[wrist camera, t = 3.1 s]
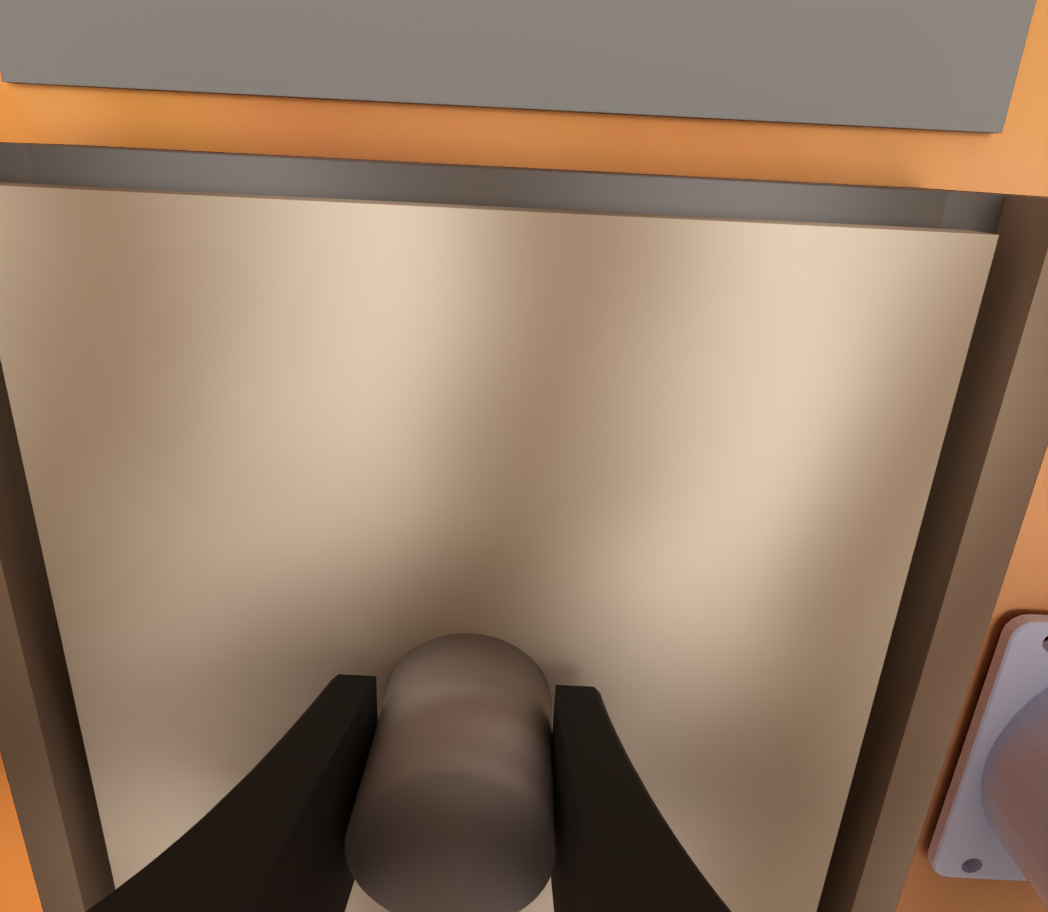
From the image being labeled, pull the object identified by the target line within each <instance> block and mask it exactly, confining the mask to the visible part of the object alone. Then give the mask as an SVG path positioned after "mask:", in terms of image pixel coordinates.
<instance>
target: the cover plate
mask: <svg viewBox="0 0 1048 912" xmlns="http://www.w3.org/2000/svg"><path fill="white" fill-rule="evenodd" d="M998 237H999V235H996V234H990V233H984V232H978V231H971V230H962V229H941V228H921V227H901V226H881V225H861V224H840V223H820V222H800V221H780V220H760V219H739V218H719V217H699V216H679V215H658V214H638V213H618V212H598V211H578V210H557V209H537V208H517V207H497V206H477V205H456V204H436V203H416V202H396V201H375V200H355V199H335V198H315V197H295V196H274V195H254V194H234V193H214V192H194V191H173V190H153V189H133V188H113V187H92V186H72V185H52V184H32V183H12V182H0V359H1V364H2V369H3V373H4V378H5V382H6V387H7V392H8V396H9V401H10V405H11V410H12V415H13V419H14V424H15V428H16V433H17V438H18V442H19V447H20V451H21V456H22V461H23V465H24V470H25V475H26V479H27V484H28V488H29V493H30V498H31V502H32V507H33V511H34V516H35V521H36V525H37V530H38V534H39V539H40V544H41V548H42V553H43V557H44V562H45V567H46V571H47V576H48V580H49V585H50V590H51V594H52V599H53V603H54V608H55V613H56V617H57V622H58V626H59V631H60V636H61V640H62V645H63V650H64V654H65V659H66V663H67V668H68V673H69V677H70V682H71V686H72V691H73V696H74V700H75V705H76V709H77V714H78V719H79V723H80V728H81V732H82V737H83V742H84V746H85V751H86V755H87V760H88V765H89V769H90V774H91V778H92V783H93V788H94V792H95V797H96V801H97V806H98V811H99V815H100V820H101V824H102V829H103V834H104V838H105V843H106V848H107V852H108V857H109V861H110V866H111V871H112V875H113V880H114V884H115V889H117V888H118V887H119V886H121V885H122V884H123V883H125V882H126V881H127V880H129V879H130V878H131V877H132V876H134V875H135V874H136V873H138V872H139V871H140V870H142V869H143V868H144V867H145V866H147V865H148V864H149V863H150V862H152V861H153V860H154V859H155V858H156V857H158V856H159V855H160V854H161V853H162V852H164V851H165V850H166V849H167V848H168V847H170V846H171V845H172V844H173V843H174V842H175V841H177V840H178V839H179V838H180V837H181V836H182V835H184V834H185V833H186V832H187V831H188V830H189V829H190V828H191V827H193V826H194V825H195V824H196V823H197V822H198V821H199V820H200V819H201V818H203V817H204V816H205V815H206V814H207V813H208V812H209V811H210V810H211V809H212V808H213V807H214V806H215V805H216V804H217V803H218V802H219V801H220V800H221V799H222V798H224V797H225V796H226V795H227V794H228V793H229V792H230V791H231V790H232V789H233V788H234V787H235V786H236V785H237V784H238V783H239V782H240V781H241V780H242V779H243V778H244V777H245V776H246V775H247V774H248V773H249V772H250V771H251V770H252V769H253V768H254V767H255V766H256V765H257V764H258V763H259V762H260V761H261V759H262V758H263V757H264V756H265V755H266V754H267V753H268V752H269V751H270V750H271V749H272V748H273V747H274V745H275V744H276V743H277V742H278V741H279V740H280V739H281V738H282V737H283V736H284V735H285V734H286V733H287V731H288V730H289V729H290V728H291V727H292V726H293V725H294V723H295V722H296V721H297V720H298V719H299V718H300V717H301V715H302V714H303V713H304V712H305V711H306V710H307V708H308V707H309V706H310V705H311V704H312V703H313V701H314V700H315V699H316V698H317V697H318V695H319V694H320V693H321V692H322V691H323V689H324V688H325V687H326V686H327V685H328V683H329V682H330V681H331V680H332V679H333V678H334V677H335V676H337V675H338V674H345V675H365V676H376V685H377V714H378V723H377V726H376V730H375V733H374V737H373V740H372V744H371V747H370V751H369V754H368V758H367V761H366V765H365V768H364V772H363V775H362V779H361V782H360V786H359V789H358V793H357V796H356V800H355V803H354V807H353V810H352V814H351V817H350V821H349V824H348V828H347V832H346V837H345V855H346V860H347V863H348V867H349V869H350V871H351V873H352V875H353V877H354V879H355V880H354V884H353V887H352V890H351V893H350V897H349V900H348V903H347V906H346V909H345V912H554V906H553V895H552V885H551V874H552V871H553V867H554V861H555V838H554V796H553V753H552V728H553V715H554V701H555V688H556V685H570V686H591V687H595V688H596V689H597V690H598V691H599V692H600V694H601V697H602V700H603V703H604V705H605V708H606V710H607V713H608V715H609V717H610V720H611V722H612V724H613V726H614V728H615V731H616V733H617V735H618V737H619V739H620V741H621V743H622V745H623V747H624V749H625V751H626V753H627V755H628V757H629V759H630V761H631V763H632V764H633V766H634V768H635V770H636V771H637V773H638V775H639V777H640V779H641V780H642V782H643V784H644V786H645V787H646V789H647V791H648V793H649V794H650V796H651V798H652V800H653V801H654V803H655V804H656V806H657V808H658V809H659V811H660V813H661V814H662V816H663V817H664V819H665V820H666V822H667V824H668V825H669V827H670V828H671V830H672V831H673V833H674V834H675V836H676V837H677V839H678V840H679V842H680V843H681V845H682V846H683V848H684V849H685V851H686V852H687V854H688V855H689V856H690V858H691V859H692V861H693V862H694V863H695V865H696V866H697V868H698V869H699V870H700V872H701V873H702V874H703V876H704V877H705V878H706V880H707V881H708V882H709V883H710V885H711V886H712V887H713V889H714V890H715V891H716V893H717V894H718V895H719V897H720V898H721V899H722V900H723V902H724V903H725V904H726V905H727V906H728V908H729V909H730V910H731V911H732V912H817V908H818V904H819V900H820V897H821V893H822V889H823V886H824V882H825V878H826V874H827V871H828V867H829V863H830V860H831V856H832V852H833V849H834V845H835V841H836V837H837V834H838V830H839V826H840V823H841V819H842V815H843V811H844V808H845V804H846V800H847V797H848V793H849V789H850V786H851V782H852V778H853V774H854V771H855V767H856V763H857V760H858V756H859V752H860V748H861V745H862V741H863V737H864V734H865V730H866V726H867V723H868V719H869V715H870V711H871V708H872V704H873V700H874V697H875V693H876V689H877V686H878V682H879V678H880V674H881V671H882V667H883V663H884V660H885V656H886V652H887V648H888V645H889V641H890V637H891V634H892V630H893V626H894V623H895V619H896V615H897V611H898V608H899V604H900V600H901V597H902V593H903V589H904V585H905V582H906V578H907V574H908V571H909V567H910V563H911V560H912V556H913V552H914V548H915V545H916V541H917V537H918V534H919V530H920V526H921V523H922V519H923V515H924V511H925V508H926V504H927V500H928V497H929V493H930V489H931V485H932V482H933V478H934V474H935V471H936V467H937V463H938V460H939V456H940V452H941V448H942V445H943V441H944V437H945V434H946V430H947V426H948V422H949V419H950V415H951V411H952V408H953V404H954V400H955V397H956V393H957V389H958V385H959V382H960V378H961V374H962V371H963V367H964V363H965V359H966V356H967V352H968V348H969V345H970V341H971V337H972V334H973V330H974V326H975V322H976V319H977V315H978V311H979V308H980V304H981V300H982V297H983V293H984V289H985V285H986V282H987V278H988V274H989V271H990V267H991V263H992V259H993V256H994V252H995V248H996V245H997V241H998Z"/></svg>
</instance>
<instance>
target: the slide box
mask: <svg viewBox="0 0 1048 912" xmlns="http://www.w3.org/2000/svg"><path fill="white" fill-rule="evenodd" d="M0 182H12V183H32V184H52V185H72V186H92V187H113V188H133V189H153V190H173V191H194V192H214V193H234V194H254V195H274V196H295V197H315V198H335V199H355V200H375V201H396V202H416V203H436V204H456V205H477V206H497V207H517V208H537V209H557V210H578V211H598V212H618V213H638V214H658V215H679V216H699V217H719V218H739V219H760V220H780V221H800V222H820V223H840V224H861V225H881V226H901V227H921V228H941V229H962V230H971V231H978V232H984V233H990V234H996V235H999V237H998V241H997V245H996V248H995V252H994V256H993V259H992V263H991V267H990V271H989V274H988V278H987V282H986V285H985V289H984V293H983V297H982V300H981V304H980V308H979V311H978V315H977V319H976V322H975V326H974V330H973V334H972V337H971V341H970V345H969V348H968V352H967V356H966V359H965V363H964V367H963V371H962V374H961V378H960V382H959V385H958V389H957V393H956V397H955V400H954V404H953V408H952V411H951V415H950V419H949V422H948V426H947V430H946V434H945V437H944V441H943V445H942V448H941V452H940V456H939V460H938V463H937V467H936V471H935V474H934V478H933V482H932V485H931V489H930V493H929V497H928V500H927V504H926V508H925V511H924V515H923V519H922V523H921V526H920V530H919V534H918V537H917V541H916V545H915V548H914V552H913V556H912V560H911V563H910V567H909V571H908V574H907V578H906V582H905V585H904V589H903V593H902V597H901V600H900V604H899V608H898V611H897V615H896V619H895V623H894V626H893V630H892V634H891V637H890V641H889V645H888V648H887V652H886V656H885V660H884V663H883V667H882V671H881V674H880V678H879V682H878V686H877V689H876V693H875V697H874V700H873V704H872V708H871V711H870V715H869V719H868V723H867V726H866V730H865V734H864V737H863V741H862V745H861V748H860V752H859V756H858V760H857V763H856V767H855V771H854V774H853V778H852V782H851V786H850V789H849V793H848V797H847V800H846V804H845V808H844V811H843V815H842V819H841V823H840V826H839V830H838V834H837V837H836V841H835V845H834V849H833V852H832V856H831V860H830V863H829V867H828V871H827V874H826V878H825V882H824V886H823V889H822V893H821V897H820V900H819V904H818V908H817V912H895V911H896V908H897V905H898V902H899V899H900V896H901V892H902V889H903V886H904V883H905V880H906V877H907V874H908V871H909V868H910V865H911V862H912V859H913V856H914V853H915V850H916V847H917V844H918V840H919V837H920V834H921V831H922V828H923V825H924V822H925V819H926V816H927V813H928V810H929V807H930V804H931V801H932V798H933V795H934V792H935V788H936V785H937V782H938V779H939V776H940V773H941V770H942V767H943V764H944V761H945V758H946V755H947V752H948V749H949V746H950V743H951V740H952V736H953V733H954V730H955V727H956V724H957V721H958V718H959V715H960V712H961V709H962V706H963V703H964V700H965V697H966V694H967V691H968V688H969V684H970V681H971V678H972V675H973V672H974V669H975V666H976V663H977V660H978V657H979V654H980V651H981V648H982V645H983V642H984V639H985V636H986V632H987V629H988V626H989V623H990V620H991V617H992V614H993V611H994V608H995V605H996V602H997V599H998V596H999V593H1000V590H1001V587H1002V584H1003V580H1004V577H1005V574H1006V571H1007V568H1008V565H1009V562H1010V559H1011V556H1012V553H1013V550H1014V547H1015V544H1016V541H1017V538H1018V535H1019V532H1020V528H1021V525H1022V522H1023V519H1024V516H1025V513H1026V510H1027V507H1028V504H1029V501H1030V498H1031V495H1032V492H1033V489H1034V486H1035V483H1036V480H1037V476H1038V473H1039V470H1040V467H1041V464H1042V461H1043V458H1044V455H1045V452H1046V449H1047V446H1048V197H1043V196H1028V195H1014V194H999V193H985V192H970V191H956V190H942V189H927V188H909V187H889V186H870V185H850V184H830V183H811V182H791V181H772V180H752V179H733V178H713V177H694V176H674V175H655V174H635V173H615V172H596V171H576V170H557V169H537V168H518V167H498V166H479V165H459V164H440V163H420V162H400V161H381V160H361V159H342V158H322V157H303V156H283V155H264V154H244V153H224V152H205V151H185V150H166V149H146V148H127V147H107V146H88V145H64V144H36V143H9V142H0ZM0 752H1V756H2V760H3V763H4V767H5V771H6V774H7V778H8V782H9V786H10V789H11V793H12V797H13V801H14V804H15V808H16V812H17V815H18V819H19V823H20V827H21V830H22V834H23V838H24V842H25V845H26V849H27V853H28V856H29V860H30V864H31V868H32V871H33V875H34V879H35V882H36V886H37V890H38V894H39V897H40V901H41V905H42V909H43V912H86V911H87V910H89V909H90V908H91V907H93V906H94V905H95V904H97V903H98V902H99V901H101V900H102V899H104V898H105V897H106V896H108V895H109V894H110V893H112V892H113V891H114V890H116V889H115V884H114V880H113V875H112V871H111V866H110V861H109V857H108V852H107V848H106V843H105V838H104V834H103V829H102V824H101V820H100V815H99V811H98V806H97V801H96V797H95V792H94V788H93V783H92V778H91V774H90V769H89V765H88V760H87V755H86V751H85V746H84V742H83V737H82V732H81V728H80V723H79V719H78V714H77V709H76V705H75V700H74V696H73V691H72V686H71V682H70V677H69V673H68V668H67V663H66V659H65V654H64V650H63V645H62V640H61V636H60V631H59V626H58V622H57V617H56V613H55V608H54V603H53V599H52V594H51V590H50V585H49V580H48V576H47V571H46V567H45V562H44V557H43V553H42V548H41V544H40V539H39V534H38V530H37V525H36V521H35V516H34V511H33V507H32V502H31V498H30V493H29V488H28V484H27V479H26V475H25V470H24V465H23V461H22V456H21V451H20V447H19V442H18V438H17V433H16V428H15V424H14V419H13V415H12V410H11V405H10V401H9V396H8V392H7V387H6V382H5V378H4V373H3V369H2V364H1V359H0Z"/></svg>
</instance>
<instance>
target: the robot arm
mask: <svg viewBox="0 0 1048 912" xmlns="http://www.w3.org/2000/svg"><path fill="white" fill-rule="evenodd" d="M1047 636H1048V615H1039V614H1025V615H1020V616H1017V617H1015V618H1013V619H1011V620H1010V621H1009V622H1008V623H1007V624H1006V625H1005V626H1004V628H1003V630H1002V632H1001V635H1000V638H999V641H998V644H997V647H996V650H995V653H994V656H993V659H992V662H991V665H990V668H989V671H988V674H987V677H986V680H985V683H984V686H983V689H982V692H981V695H980V698H979V700H978V703H977V706H976V709H975V712H974V715H973V718H972V721H971V724H970V727H969V730H968V733H967V736H966V739H965V742H964V745H963V748H962V751H961V754H960V757H959V760H958V763H957V766H956V769H955V772H954V775H953V778H952V781H951V784H950V787H949V790H948V793H947V796H946V799H945V802H944V805H943V808H942V811H941V814H940V817H939V820H938V823H937V826H936V829H935V832H934V835H933V838H932V841H931V844H930V846H929V849H928V853H927V858H928V860H929V862H930V864H931V865H932V867H933V869H934V871H935V872H936V873H937V874H939V875H941V876H945V877H955V878H975V879H995V880H1015V881H1028V883H1029V884H1030V886H1031V887H1032V888H1033V890H1034V891H1035V893H1036V894H1037V896H1038V897H1039V899H1040V900H1041V902H1042V903H1043V905H1044V906H1045V908H1046V909H1047V911H1048V640H1047V641H1044V639H1045V638H1046V637H1047ZM377 723H378V714H377V685H376V676H365V675H345V674H338V675H337V676H335V677H334V678H333V679H332V680H331V681H330V682H329V683H328V685H327V686H326V687H325V688H324V689H323V691H322V692H321V693H320V694H319V695H318V697H317V698H316V699H315V700H314V701H313V703H312V704H311V705H310V706H309V707H308V708H307V710H306V711H305V712H304V713H303V714H302V715H301V717H300V718H299V719H298V720H297V721H296V722H295V723H294V725H293V726H292V727H291V728H290V729H289V730H288V731H287V733H286V734H285V735H284V736H283V737H282V738H281V739H280V740H279V741H278V742H277V743H276V744H275V745H274V747H273V748H272V749H271V750H270V751H269V752H268V753H267V754H266V755H265V756H264V757H263V758H262V759H261V761H260V762H259V763H258V764H257V765H256V766H255V767H254V768H253V769H252V770H251V771H250V772H249V773H248V774H247V775H246V776H245V777H244V778H243V779H242V780H241V781H240V782H239V783H238V784H237V785H236V786H235V787H234V788H233V789H232V790H231V791H230V792H229V793H228V794H227V795H226V796H225V797H224V798H222V799H221V800H220V801H219V802H218V803H217V804H216V805H215V806H214V807H213V808H212V809H211V810H210V811H209V812H208V813H207V814H206V815H205V816H204V817H203V818H201V819H200V820H199V821H198V822H197V823H196V824H195V825H194V826H193V827H191V828H190V829H189V830H188V831H187V832H186V833H185V834H184V835H182V836H181V837H180V838H179V839H178V840H177V841H175V842H174V843H173V844H172V845H171V846H170V847H168V848H167V849H166V850H165V851H164V852H162V853H161V854H160V855H159V856H158V857H156V858H155V859H154V860H153V861H152V862H150V863H149V864H148V865H147V866H145V867H144V868H143V869H142V870H140V871H139V872H138V873H136V874H135V875H134V876H132V877H131V878H130V879H129V880H127V881H126V882H125V883H123V884H122V885H121V886H119V887H118V888H117V889H116V890H114V891H113V892H112V893H110V894H109V895H108V896H106V897H105V898H104V899H102V900H101V901H99V902H98V903H97V904H95V905H94V906H93V907H91V908H90V909H89V910H87V911H86V912H345V909H346V906H347V903H348V900H349V897H350V893H351V890H352V887H353V884H354V880H355V879H354V877H353V875H352V873H351V871H350V869H349V867H348V863H347V860H346V855H345V837H346V832H347V828H348V824H349V821H350V817H351V814H352V810H353V807H354V803H355V800H356V796H357V793H358V789H359V786H360V782H361V779H362V775H363V772H364V768H365V765H366V761H367V758H368V754H369V751H370V747H371V744H372V740H373V737H374V733H375V730H376V726H377ZM552 753H553V796H554V838H555V861H554V867H553V871H552V874H551V885H552V895H553V906H554V912H732V911H731V910H730V909H729V908H728V906H727V905H726V904H725V903H724V902H723V900H722V899H721V898H720V897H719V895H718V894H717V893H716V891H715V890H714V889H713V887H712V886H711V885H710V883H709V882H708V881H707V880H706V878H705V877H704V876H703V874H702V873H701V872H700V870H699V869H698V868H697V866H696V865H695V863H694V862H693V861H692V859H691V858H690V856H689V855H688V854H687V852H686V851H685V849H684V848H683V846H682V845H681V843H680V842H679V840H678V839H677V837H676V836H675V834H674V833H673V831H672V830H671V828H670V827H669V825H668V824H667V822H666V820H665V819H664V817H663V816H662V814H661V813H660V811H659V809H658V808H657V806H656V804H655V803H654V801H653V800H652V798H651V796H650V794H649V793H648V791H647V789H646V787H645V786H644V784H643V782H642V780H641V779H640V777H639V775H638V773H637V771H636V770H635V768H634V766H633V764H632V763H631V761H630V759H629V757H628V755H627V753H626V751H625V749H624V747H623V745H622V743H621V741H620V739H619V737H618V735H617V733H616V731H615V728H614V726H613V724H612V722H611V720H610V717H609V715H608V713H607V710H606V708H605V705H604V703H603V700H602V697H601V694H600V692H599V691H598V690H597V689H596V688H595V687H591V686H570V685H556V688H555V701H554V715H553V728H552Z"/></svg>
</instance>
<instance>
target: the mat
mask: <svg viewBox="0 0 1048 912" xmlns="http://www.w3.org/2000/svg"><path fill="white" fill-rule="evenodd" d="M1035 4H1036V0H0V72H1V78H2V82H8V83H19V84H39V85H58V86H78V87H97V88H117V89H136V90H156V91H175V92H195V93H214V94H234V95H253V96H273V97H292V98H312V99H331V100H351V101H370V102H390V103H410V104H429V105H449V106H468V107H488V108H507V109H527V110H546V111H566V112H585V113H605V114H624V115H644V116H663V117H683V118H702V119H722V120H741V121H761V122H780V123H800V124H819V125H839V126H859V127H878V128H898V129H917V130H937V131H956V132H976V133H1002V131H1003V127H1004V123H1005V119H1006V115H1007V111H1008V107H1009V104H1010V100H1011V96H1012V92H1013V88H1014V84H1015V80H1016V77H1017V73H1018V69H1019V65H1020V61H1021V57H1022V54H1023V50H1024V46H1025V42H1026V38H1027V34H1028V30H1029V27H1030V23H1031V19H1032V15H1033V11H1034V7H1035Z"/></svg>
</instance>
